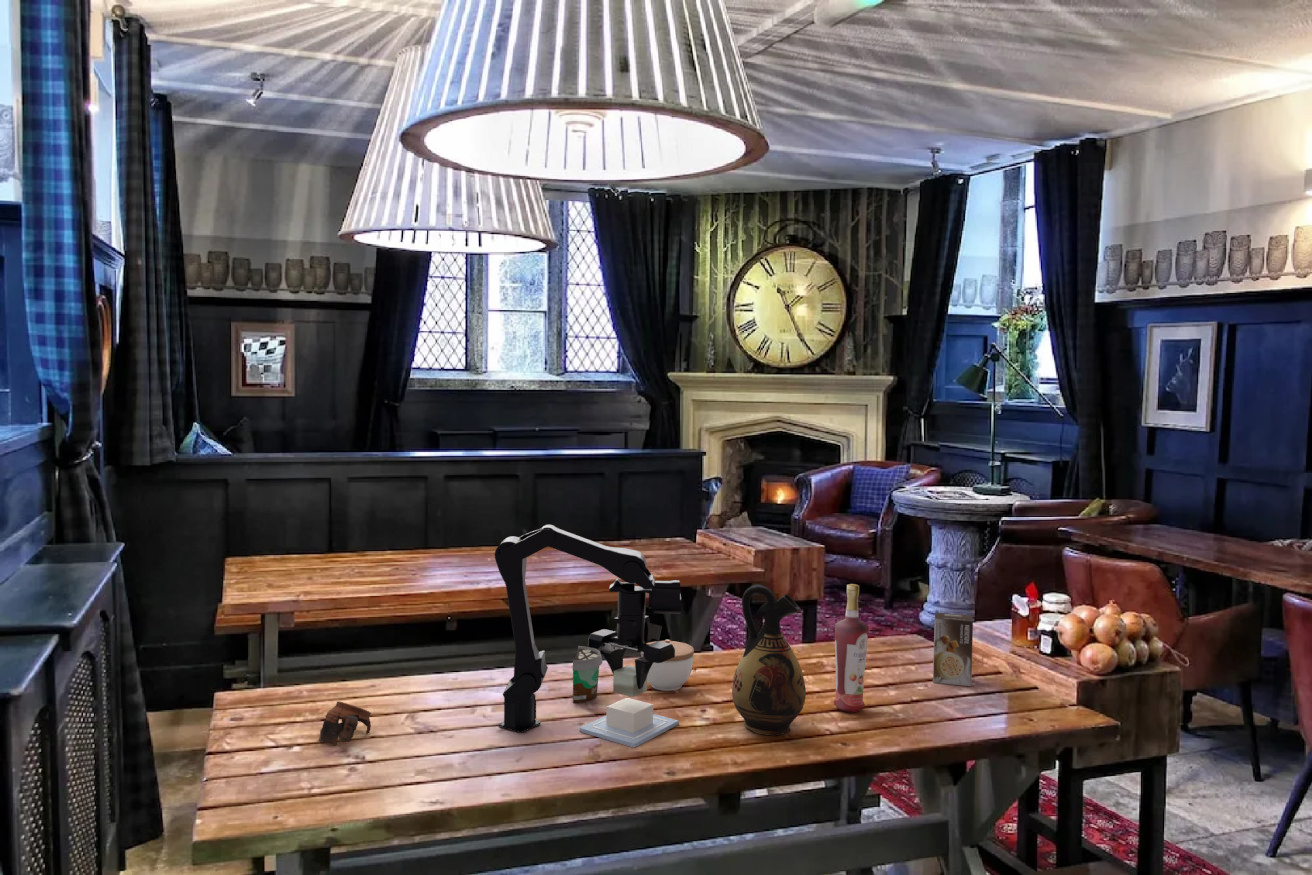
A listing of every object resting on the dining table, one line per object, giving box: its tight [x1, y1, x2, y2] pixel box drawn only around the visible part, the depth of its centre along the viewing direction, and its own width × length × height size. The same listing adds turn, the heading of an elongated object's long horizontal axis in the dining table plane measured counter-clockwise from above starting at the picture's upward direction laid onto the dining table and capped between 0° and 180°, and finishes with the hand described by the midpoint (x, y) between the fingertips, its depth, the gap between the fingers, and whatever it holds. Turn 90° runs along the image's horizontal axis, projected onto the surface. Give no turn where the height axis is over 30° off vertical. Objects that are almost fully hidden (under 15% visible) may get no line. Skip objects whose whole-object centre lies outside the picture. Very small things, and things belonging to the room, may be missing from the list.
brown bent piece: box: [318, 701, 372, 747], centre depth 199 cm, size 12×10×8 cm
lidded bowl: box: [646, 639, 695, 692], centre depth 234 cm, size 13×13×11 cm
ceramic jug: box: [731, 584, 807, 737], centre depth 209 cm, size 17×15×30 cm
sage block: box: [612, 664, 648, 698], centre depth 207 cm, size 5×5×4 cm
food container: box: [572, 645, 603, 704], centre depth 226 cm, size 12×6×10 cm, turn 179°
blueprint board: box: [578, 697, 680, 748], centre depth 207 cm, size 16×14×5 cm
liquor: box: [833, 583, 869, 714], centre depth 220 cm, size 7×7×28 cm
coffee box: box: [932, 612, 974, 687], centre depth 242 cm, size 9×6×16 cm
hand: (629, 685), depth 207 cm, fingers closed on sage block, 5 cm apart
